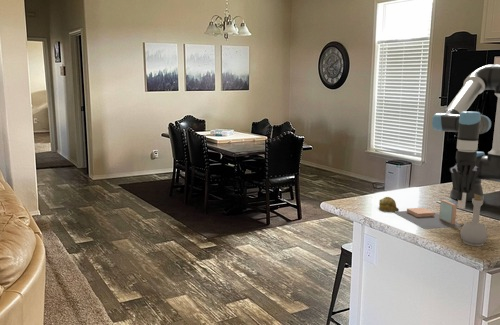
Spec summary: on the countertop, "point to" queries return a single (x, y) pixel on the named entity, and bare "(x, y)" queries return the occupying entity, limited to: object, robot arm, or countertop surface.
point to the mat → (426, 221)
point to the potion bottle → (474, 226)
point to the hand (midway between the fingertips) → (461, 207)
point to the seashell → (388, 205)
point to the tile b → (447, 211)
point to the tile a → (420, 212)
